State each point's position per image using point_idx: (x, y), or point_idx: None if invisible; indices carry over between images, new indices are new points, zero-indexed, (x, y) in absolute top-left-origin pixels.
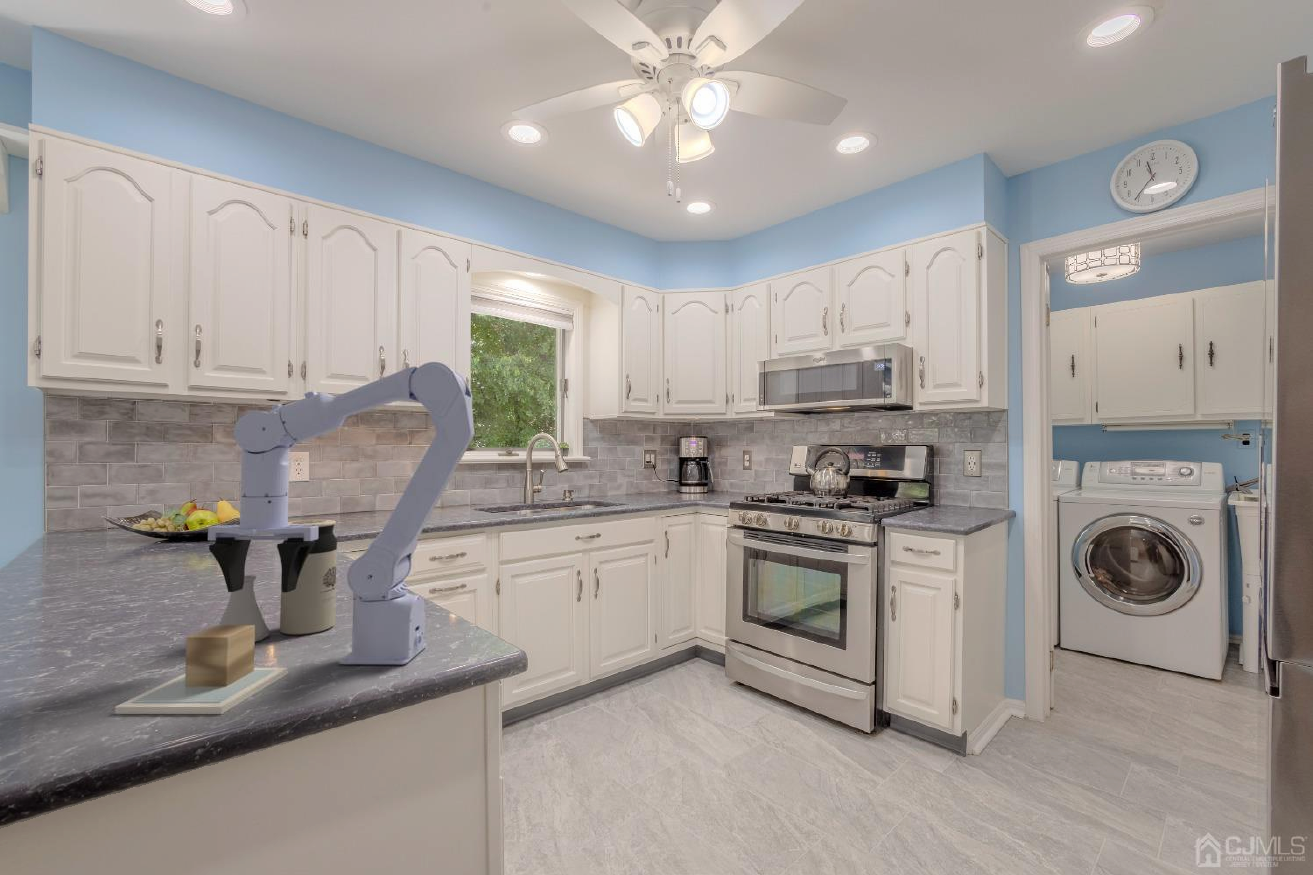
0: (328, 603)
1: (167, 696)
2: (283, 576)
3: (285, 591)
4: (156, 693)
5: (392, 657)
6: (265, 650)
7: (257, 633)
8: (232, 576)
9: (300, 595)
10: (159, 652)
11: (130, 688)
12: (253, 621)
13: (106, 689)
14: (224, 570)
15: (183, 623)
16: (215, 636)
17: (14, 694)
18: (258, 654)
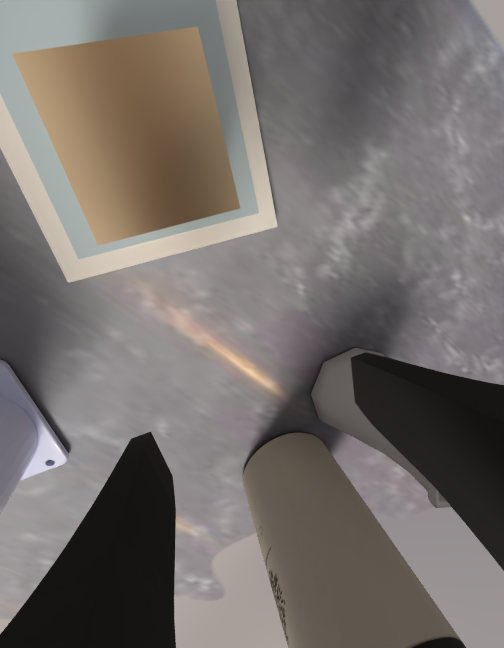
0: (257, 529)
1: (159, 27)
2: (118, 493)
3: (135, 439)
4: (207, 45)
5: None
6: (260, 365)
7: (322, 399)
8: (400, 391)
9: (301, 513)
10: (428, 294)
11: (329, 122)
12: (343, 410)
13: (368, 108)
14: (454, 383)
15: None
16: (85, 57)
17: (499, 52)
18: (253, 345)
